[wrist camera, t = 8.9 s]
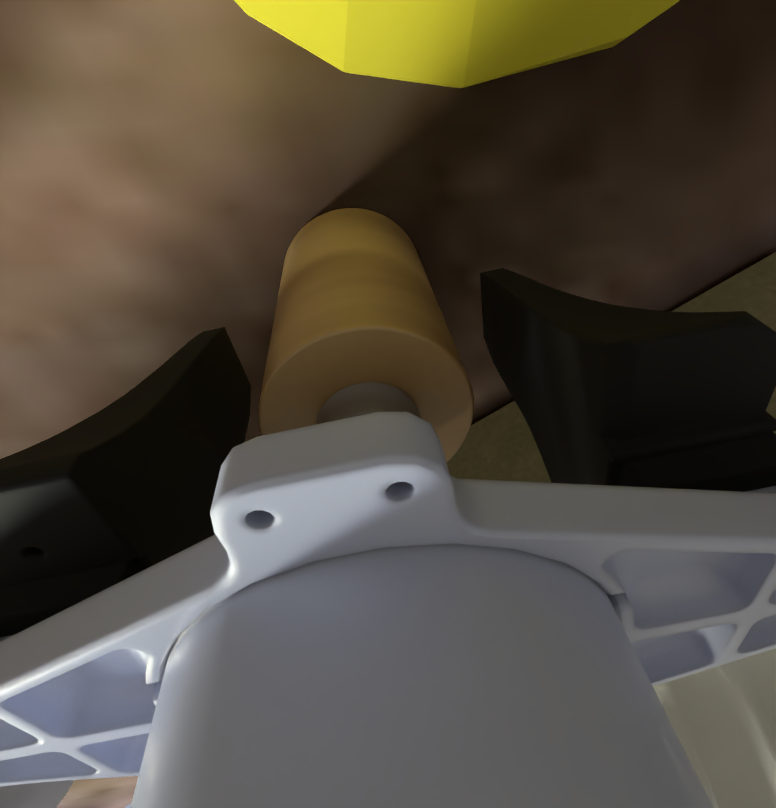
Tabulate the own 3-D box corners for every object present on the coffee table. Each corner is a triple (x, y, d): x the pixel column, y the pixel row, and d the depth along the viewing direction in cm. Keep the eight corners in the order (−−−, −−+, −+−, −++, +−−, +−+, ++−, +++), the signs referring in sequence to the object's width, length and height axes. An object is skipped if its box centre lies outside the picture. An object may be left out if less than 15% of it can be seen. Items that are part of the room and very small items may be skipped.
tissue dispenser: (785, 241, 17) (2041, 820, 5) (809, 407, 22) (1413, 880, 10) (361, 484, 22) (406, 1048, 10) (463, 570, 28) (573, 1007, 15)
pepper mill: (427, 323, 18) (491, 506, 11) (305, 349, 18) (293, 545, 11) (409, 192, 15) (480, 331, 8) (263, 224, 15) (211, 387, 8)
